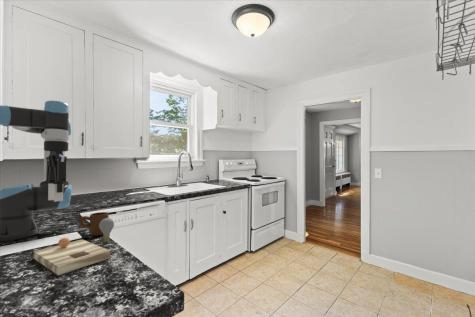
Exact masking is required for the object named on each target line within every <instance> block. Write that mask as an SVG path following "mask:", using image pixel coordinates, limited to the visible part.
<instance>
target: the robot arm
mask: <svg viewBox="0 0 475 317" xmlns="http://www.w3.org/2000/svg"><path fill="white" fill-rule="evenodd" d="M69 114H70V110H69V104H68V103H66V102H64V101H60V100H59V101H58V100H46V101H45V102H44V107H43V109H35V108H27V107H18V106H8V105H0V126H3V127H5V126H6V127H11V128H13V129H15V130H18V131H22V132H25V133H30V134H40V137H41V138H42V139H43V141H44V142H43V155H44V156H43V180H41V182H39V186H35V185H34V184H33V183H29V184H20V185H14V186H13V185H12V186H7V187H6V186H5V187H2V188H0V242H8V241H13V240H14V241H17V240H20V239H25V238H30V237H32V236H36V234H38V226H37V224H36V221H35V219H34V212H40V211H41V212H42V211H51V210H59V209H60V210H61V209H65V208H68V207H69V206H70V203H71V198H72V193H73V192H72V191H73V185H72V184H70V183H69V181H68V180H67V160H68V157H67V156H66V155H65V154H66V152H68V151H69V137H70V136H71V134H72V127H71V120H70V115H69Z"/></svg>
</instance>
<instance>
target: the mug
mask: <svg viewBox="0 0 475 317" xmlns="http://www.w3.org/2000/svg"><path fill="white" fill-rule="evenodd" d="M105 218H109V212H106V211H103V212H101V211H99V212H94V213H90V215H89V216H87V215H84V216H80V218H79V219H78V225H79V226H80V227H82V228H88V229H89V234H90V236H91V237H96V236H98V235H99V236H104V235H103V233H102V231H101V230H100V228H99V224H100V222H101V221H102V220H103V219H105ZM83 220H85V221H89V222H88V223H86V222H85V223H84V222H83Z"/></svg>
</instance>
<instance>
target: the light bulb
mask: <svg viewBox="0 0 475 317" xmlns="http://www.w3.org/2000/svg"><path fill="white" fill-rule="evenodd" d="M114 227H115V222H114V220H113V219H112V218H105V219H103V220H102V221H101V222H100V224H99V228H100V230H101V231H102V233H103V235H102V236H103V242H104V243H108V242H110V236H111V235H110V234H111V232H112V230H113V229H114Z"/></svg>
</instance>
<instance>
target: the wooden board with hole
mask: <svg viewBox="0 0 475 317" xmlns="http://www.w3.org/2000/svg"><path fill="white" fill-rule="evenodd" d="M33 259H34V260H35V261H37V262H38V263H39V264H40V265H43V266H44V267H45V268H46V269H48V270H49V271H51V272H53V274H55V275H57V276H60V275H64V274H67V273H70V272H73V271H76V270H78V269H81V268H84V267H87V266H90V265H93V264H96V263H100V262H102V261H105V260H108V259H111V250H110V249H108V248H104V247H103V246H100V245H97V244H95V243H92V242H89V241H87V240H85V239H78V240H75V241H70V243H69V245H68V246H66V247H60V246H59V245H58V244H57V245H55V246H49V247H45V248H43V249H39V250H35V251H33Z"/></svg>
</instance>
